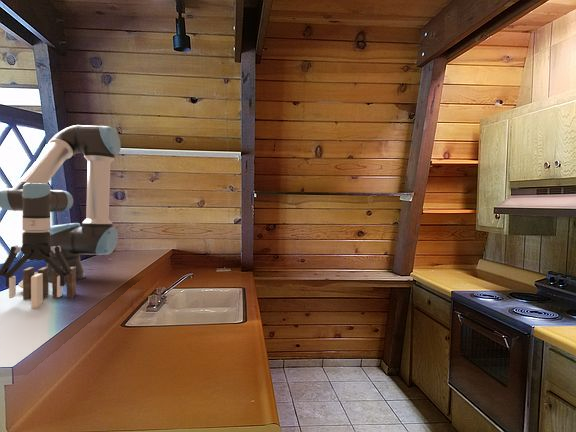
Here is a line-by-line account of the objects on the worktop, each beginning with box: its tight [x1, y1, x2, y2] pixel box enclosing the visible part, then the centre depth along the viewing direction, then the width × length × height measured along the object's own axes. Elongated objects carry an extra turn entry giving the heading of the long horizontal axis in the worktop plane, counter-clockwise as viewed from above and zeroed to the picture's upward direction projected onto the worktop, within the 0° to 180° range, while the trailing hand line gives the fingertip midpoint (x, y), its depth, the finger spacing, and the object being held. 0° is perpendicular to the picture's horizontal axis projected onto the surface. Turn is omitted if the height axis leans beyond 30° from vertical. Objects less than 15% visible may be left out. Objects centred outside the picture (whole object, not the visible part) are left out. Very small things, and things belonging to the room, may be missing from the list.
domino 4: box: [51, 267, 62, 299], centre depth 136 cm, size 2×5×10 cm, turn 13°
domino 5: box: [66, 267, 77, 299], centre depth 137 cm, size 2×5×10 cm, turn 13°
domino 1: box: [22, 266, 35, 300], centre depth 134 cm, size 2×5×10 cm, turn 13°
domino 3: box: [37, 266, 50, 299], centre depth 135 cm, size 2×5×10 cm, turn 14°
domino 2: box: [30, 273, 44, 309], centre depth 125 cm, size 2×5×10 cm, turn 14°
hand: (36, 296), depth 125 cm, fingers open, 13 cm apart
